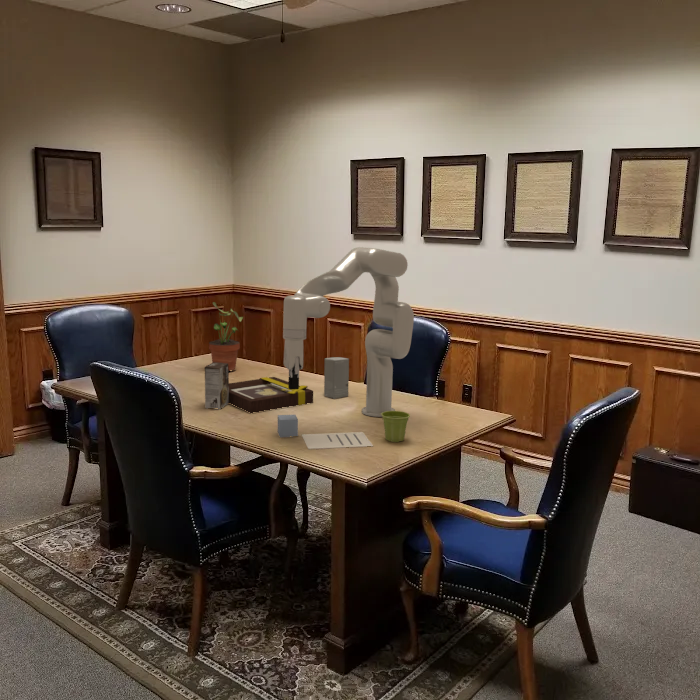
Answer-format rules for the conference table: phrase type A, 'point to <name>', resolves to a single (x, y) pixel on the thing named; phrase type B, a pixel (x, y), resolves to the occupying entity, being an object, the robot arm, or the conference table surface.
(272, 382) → the brown gift box
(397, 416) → the plant pot
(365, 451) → the conference table surface
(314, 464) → the conference table surface
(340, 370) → the skincare box
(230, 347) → the potted plant
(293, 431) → the cube
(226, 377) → the coffee box
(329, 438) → the letter
